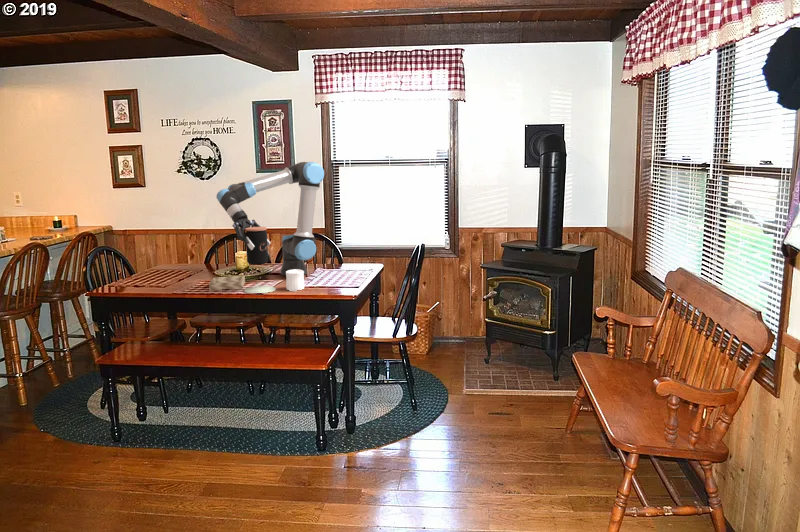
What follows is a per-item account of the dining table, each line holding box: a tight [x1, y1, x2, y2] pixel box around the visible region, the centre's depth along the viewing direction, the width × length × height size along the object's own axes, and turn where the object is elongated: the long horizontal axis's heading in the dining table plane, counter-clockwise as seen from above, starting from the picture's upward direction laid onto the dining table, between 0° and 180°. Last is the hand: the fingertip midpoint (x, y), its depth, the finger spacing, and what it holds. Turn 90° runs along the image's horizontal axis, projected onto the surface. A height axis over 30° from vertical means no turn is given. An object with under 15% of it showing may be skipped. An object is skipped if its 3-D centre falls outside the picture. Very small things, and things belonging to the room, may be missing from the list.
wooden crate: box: [208, 276, 246, 291], centre depth 349 cm, size 16×16×4 cm
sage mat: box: [243, 285, 277, 294], centre depth 338 cm, size 16×16×1 cm
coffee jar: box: [245, 226, 269, 266], centre depth 334 cm, size 11×11×18 cm
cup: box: [285, 269, 305, 292], centre depth 338 cm, size 10×10×10 cm
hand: (261, 246), depth 332 cm, fingers closed on coffee jar, 11 cm apart
